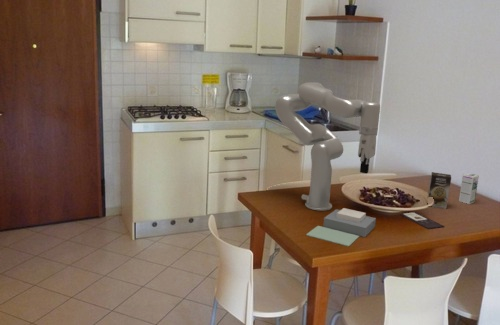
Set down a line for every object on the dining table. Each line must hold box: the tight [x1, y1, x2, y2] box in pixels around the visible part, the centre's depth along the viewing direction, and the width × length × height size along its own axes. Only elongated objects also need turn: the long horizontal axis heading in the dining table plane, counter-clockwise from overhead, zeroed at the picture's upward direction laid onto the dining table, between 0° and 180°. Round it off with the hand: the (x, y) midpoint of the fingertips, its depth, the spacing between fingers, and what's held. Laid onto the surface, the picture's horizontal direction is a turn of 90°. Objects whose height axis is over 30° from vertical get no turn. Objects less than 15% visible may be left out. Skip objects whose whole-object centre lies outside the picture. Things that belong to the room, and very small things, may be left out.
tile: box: [337, 207, 367, 223], centre depth 205 cm, size 10×8×2 cm
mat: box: [305, 225, 360, 248], centre depth 195 cm, size 18×12×1 cm, turn 59°
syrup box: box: [458, 172, 480, 205], centre depth 246 cm, size 6×6×14 cm
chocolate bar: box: [400, 211, 445, 230], centre depth 217 cm, size 9×1×18 cm
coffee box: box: [427, 171, 452, 210], centre depth 237 cm, size 9×6×16 cm
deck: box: [322, 208, 377, 238], centre depth 205 cm, size 18×14×4 cm
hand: (364, 172), depth 210 cm, fingers closed
